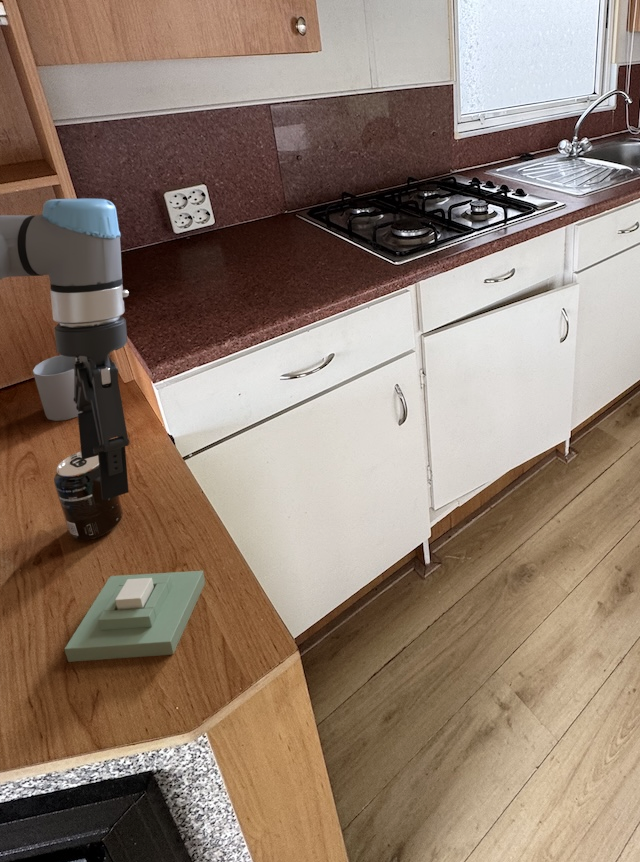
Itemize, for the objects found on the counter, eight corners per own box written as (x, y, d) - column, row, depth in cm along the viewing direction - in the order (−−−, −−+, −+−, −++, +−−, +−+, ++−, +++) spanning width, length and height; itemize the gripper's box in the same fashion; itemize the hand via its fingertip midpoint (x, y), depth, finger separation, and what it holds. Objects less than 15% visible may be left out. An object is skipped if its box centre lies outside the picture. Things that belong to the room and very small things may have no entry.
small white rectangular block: (117, 610, 71) (114, 600, 71) (130, 589, 74) (127, 578, 73) (143, 609, 71) (140, 598, 71) (154, 587, 74) (152, 577, 74)
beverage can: (106, 504, 92) (89, 441, 88) (134, 519, 89) (118, 455, 85) (60, 535, 86) (40, 469, 82) (88, 551, 83) (69, 485, 79)
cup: (104, 394, 120) (93, 352, 117) (84, 418, 113) (73, 373, 109) (59, 397, 119) (47, 355, 116) (36, 422, 111) (22, 377, 108)
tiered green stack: (68, 662, 69) (60, 638, 67) (113, 587, 78) (107, 565, 77) (173, 654, 70) (167, 631, 68) (205, 582, 79) (201, 560, 78)
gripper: (150, 335, 68) (161, 502, 71) (104, 298, 85) (115, 433, 88) (71, 348, 63) (87, 528, 66) (40, 306, 80) (54, 449, 83)
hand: (103, 474), depth 77 cm, fingers open, 13 cm apart
